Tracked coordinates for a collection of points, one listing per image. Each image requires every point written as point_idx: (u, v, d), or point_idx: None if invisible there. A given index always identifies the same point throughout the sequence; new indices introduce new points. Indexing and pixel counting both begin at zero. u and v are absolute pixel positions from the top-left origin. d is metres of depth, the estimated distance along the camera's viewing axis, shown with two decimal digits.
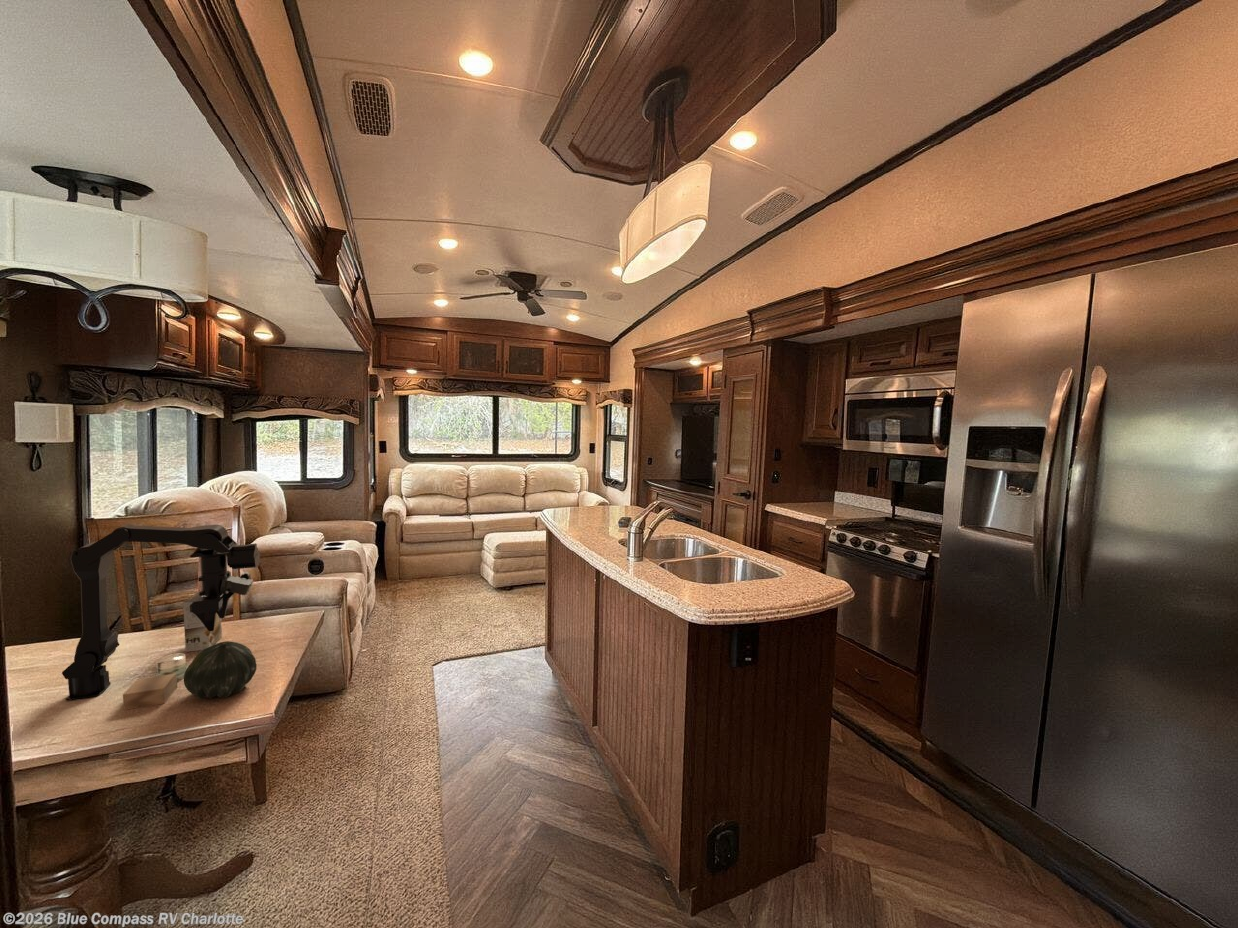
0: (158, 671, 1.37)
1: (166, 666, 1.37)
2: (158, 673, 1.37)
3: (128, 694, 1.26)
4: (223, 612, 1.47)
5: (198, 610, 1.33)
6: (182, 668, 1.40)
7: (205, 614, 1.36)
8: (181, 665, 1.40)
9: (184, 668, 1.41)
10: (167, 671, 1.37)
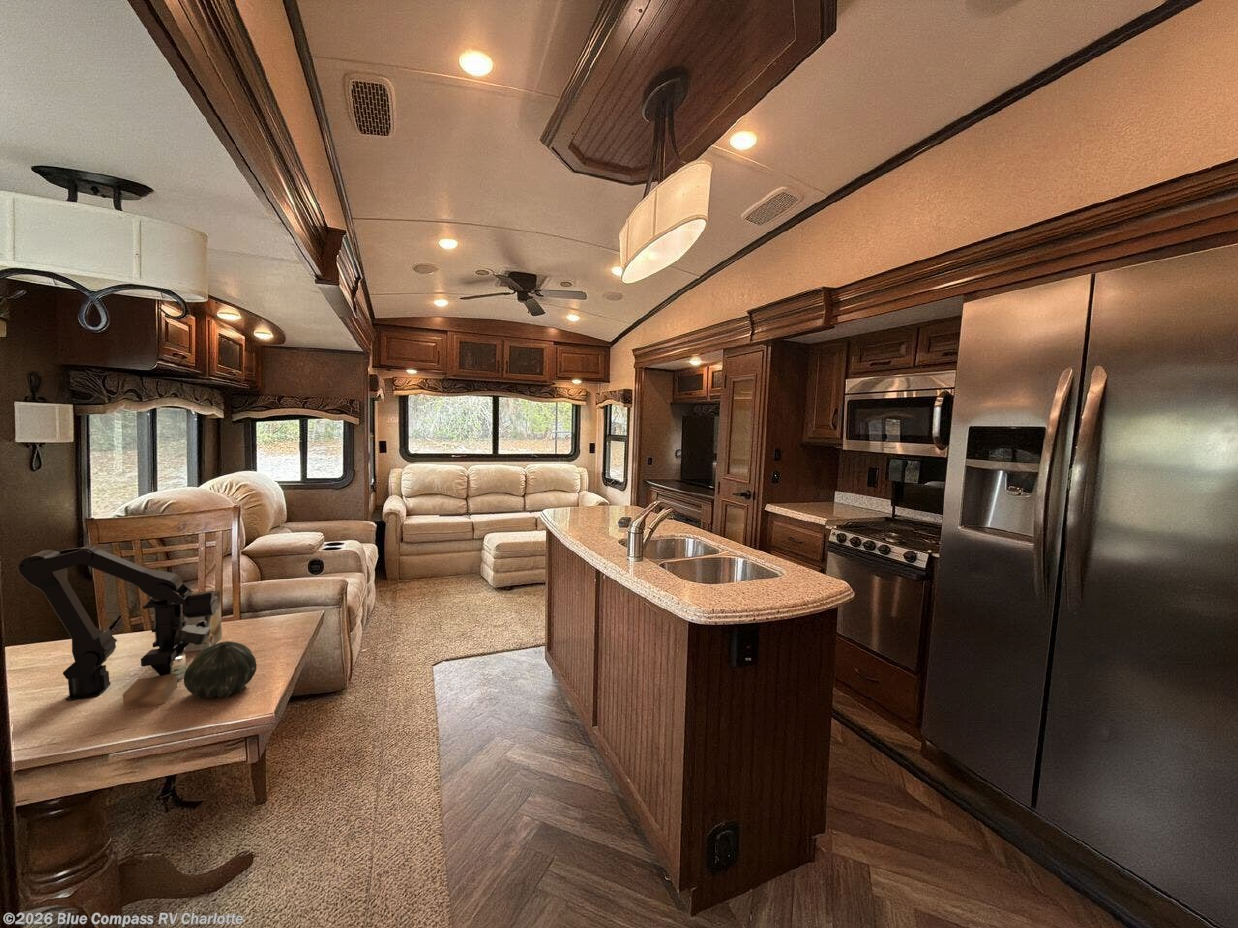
0: None
1: None
2: None
3: (128, 694, 1.26)
4: None
5: (149, 664, 1.31)
6: (182, 668, 1.40)
7: (160, 664, 1.35)
8: (181, 665, 1.40)
9: (184, 668, 1.41)
10: None
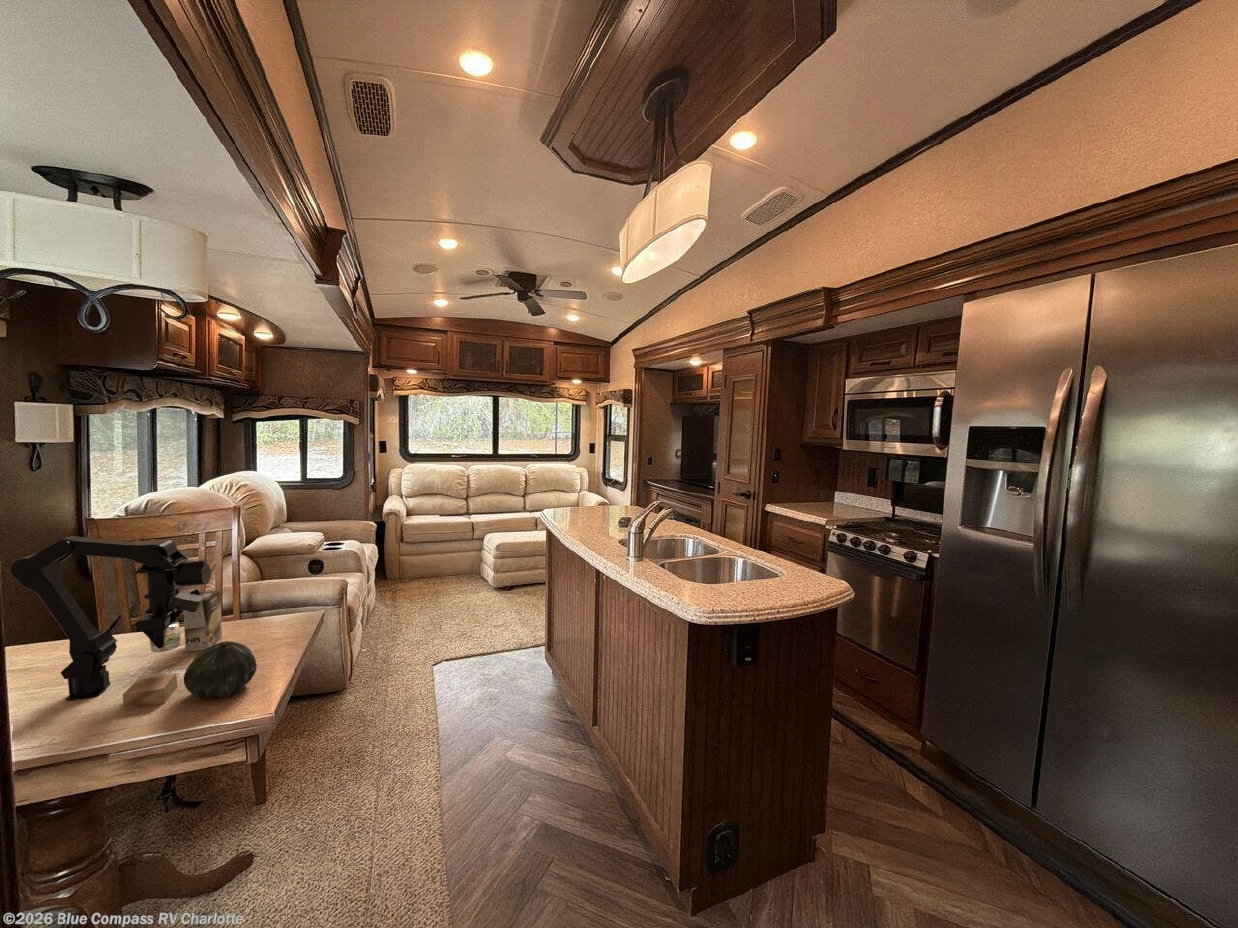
0: None
1: None
2: None
3: (128, 694, 1.26)
4: None
5: (143, 629, 1.28)
6: (176, 636, 1.37)
7: (153, 631, 1.32)
8: (175, 633, 1.37)
9: (178, 636, 1.38)
10: None
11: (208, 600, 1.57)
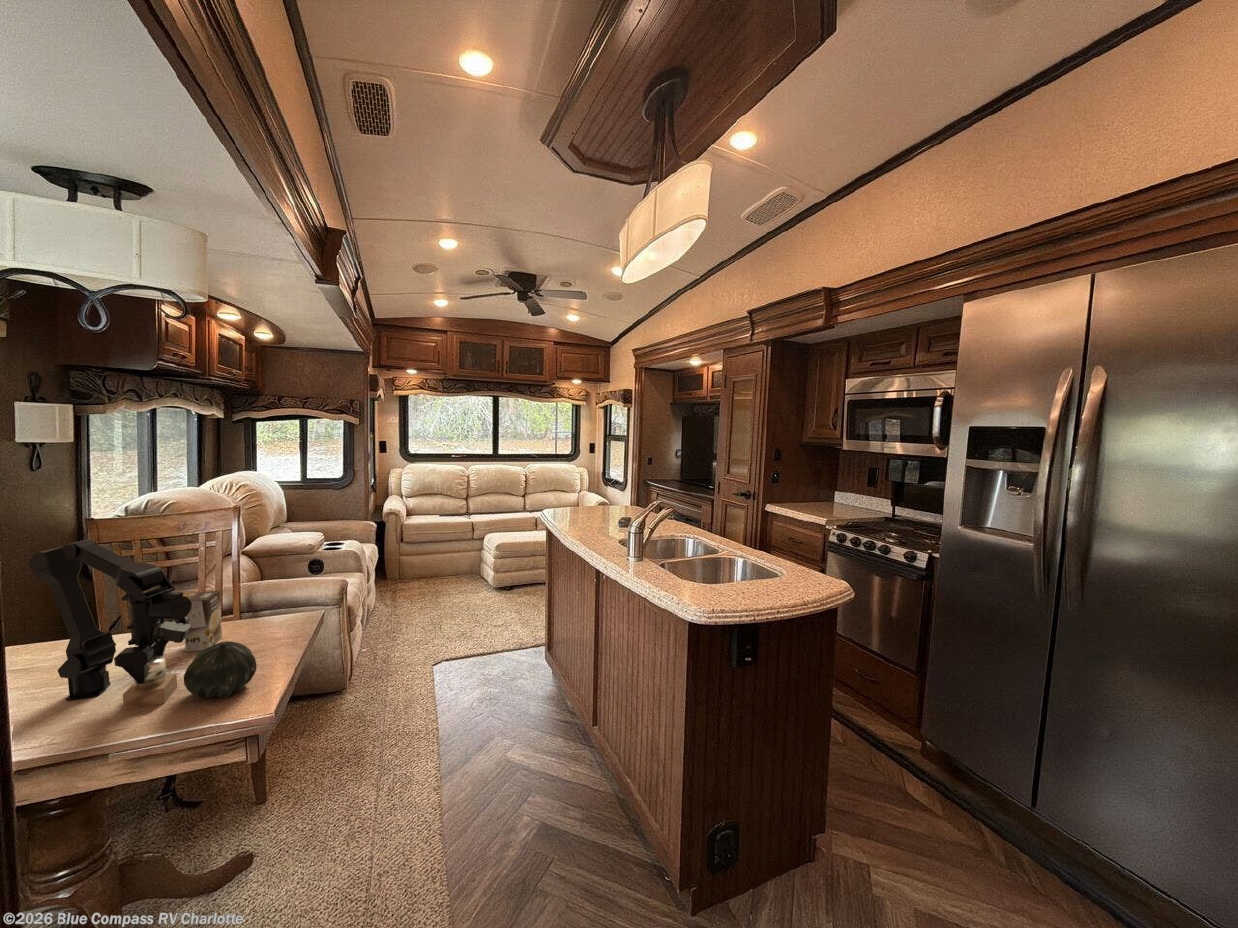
0: None
1: None
2: None
3: (128, 694, 1.26)
4: None
5: (124, 663, 1.21)
6: (162, 672, 1.30)
7: (133, 666, 1.24)
8: (160, 668, 1.30)
9: (164, 672, 1.31)
10: None
11: (208, 600, 1.57)
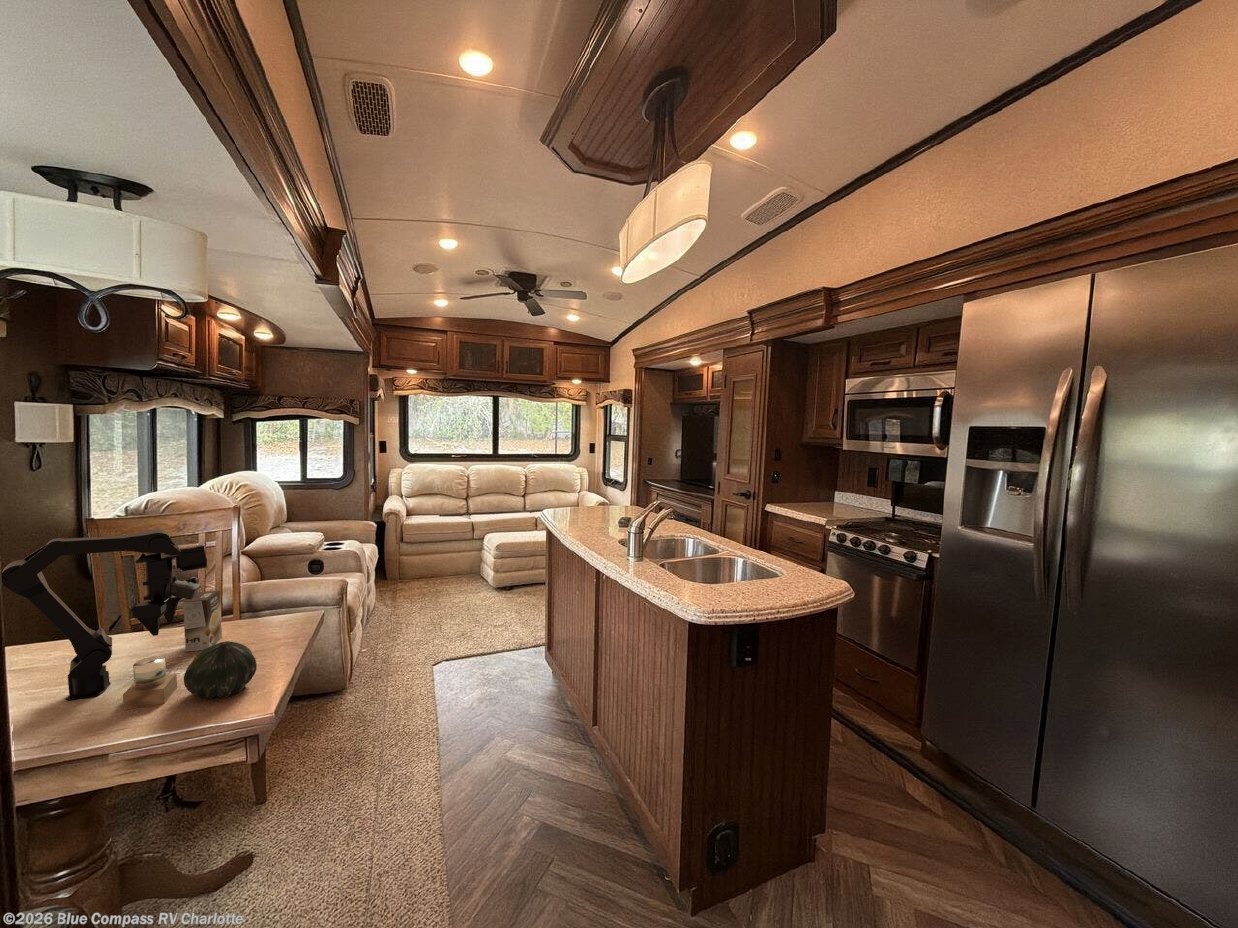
0: (135, 675, 1.27)
1: (144, 670, 1.27)
2: (135, 677, 1.27)
3: (128, 694, 1.26)
4: (171, 616, 1.46)
5: (139, 615, 1.32)
6: (162, 672, 1.30)
7: (148, 619, 1.36)
8: (160, 668, 1.30)
9: (164, 672, 1.31)
10: (144, 675, 1.28)
11: (208, 600, 1.57)
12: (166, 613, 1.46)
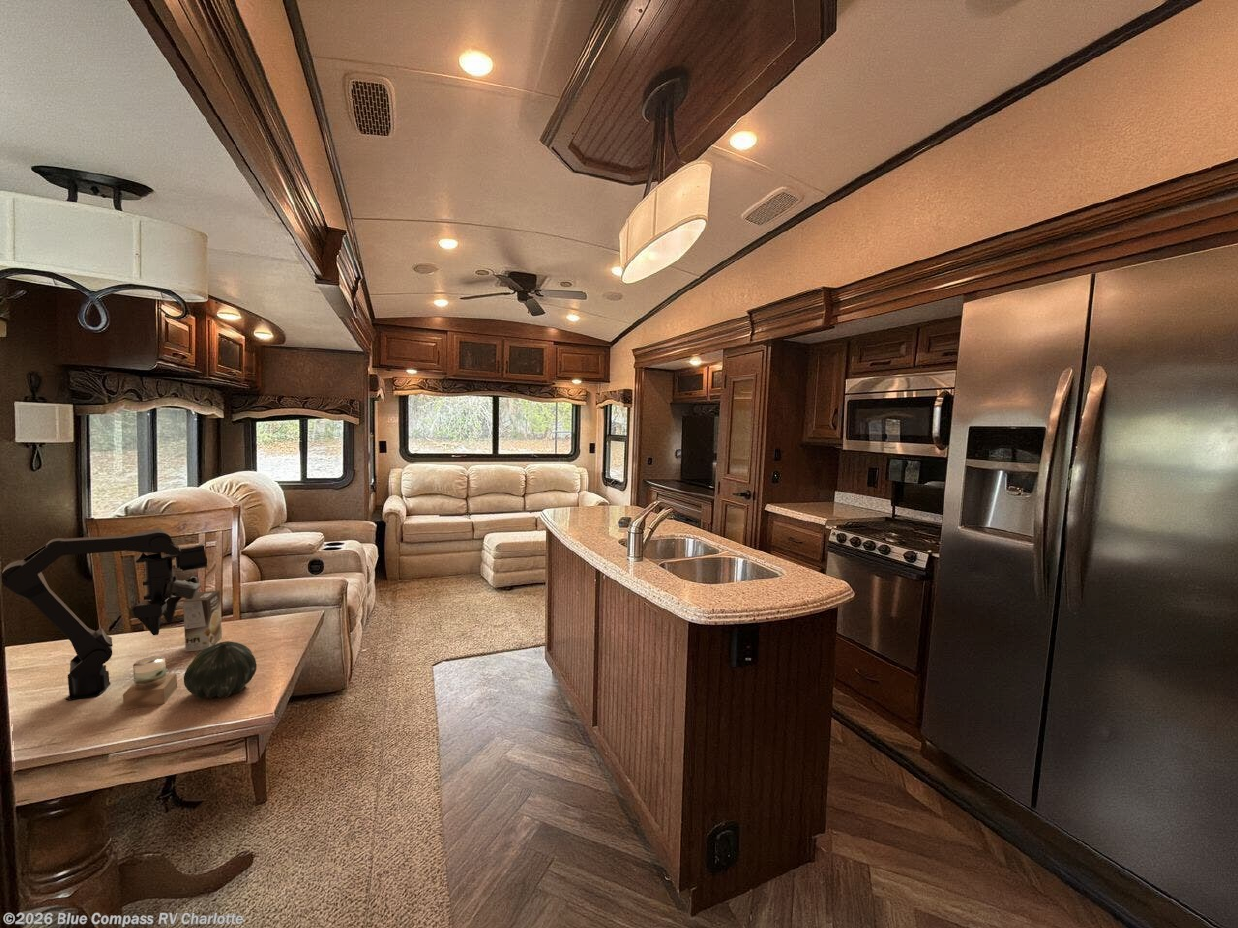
0: (135, 675, 1.27)
1: (144, 670, 1.27)
2: (135, 677, 1.27)
3: (128, 694, 1.26)
4: (171, 616, 1.47)
5: (140, 614, 1.33)
6: (162, 672, 1.30)
7: (149, 618, 1.36)
8: (160, 668, 1.30)
9: (164, 672, 1.31)
10: (144, 675, 1.28)
11: (208, 600, 1.57)
12: (165, 613, 1.46)
